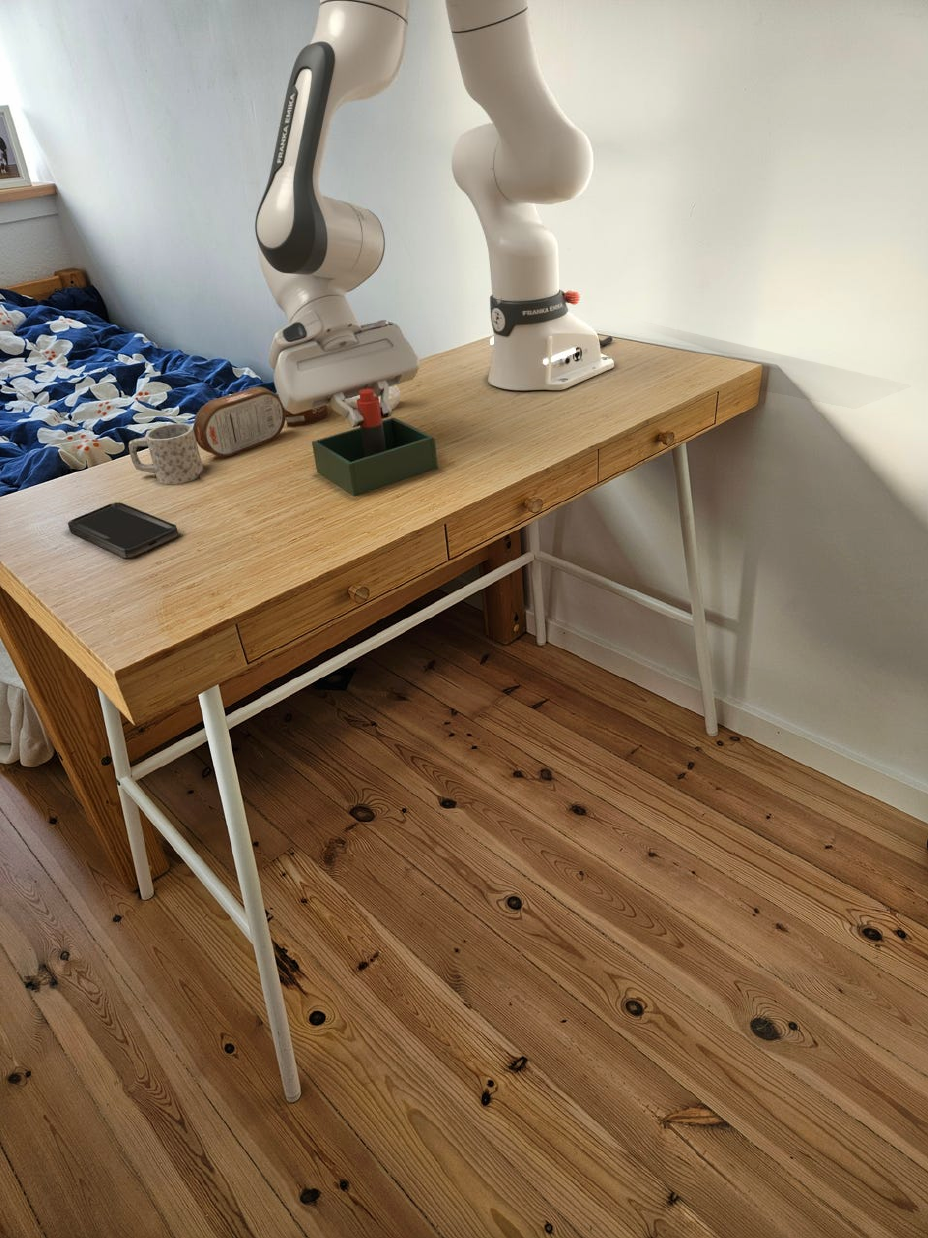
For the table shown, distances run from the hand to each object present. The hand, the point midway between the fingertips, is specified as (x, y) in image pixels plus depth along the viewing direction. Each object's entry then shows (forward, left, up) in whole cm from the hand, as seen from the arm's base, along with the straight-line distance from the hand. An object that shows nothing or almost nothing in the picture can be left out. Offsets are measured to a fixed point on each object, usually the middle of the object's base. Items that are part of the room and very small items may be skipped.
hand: (372, 420), depth 121 cm
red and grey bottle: (0, -1, -7) cm, 7 cm away
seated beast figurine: (-13, -24, -8) cm, 28 cm away
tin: (+10, -24, -8) cm, 27 cm away
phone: (+34, -7, -8) cm, 36 cm away
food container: (-4, -29, -8) cm, 30 cm away
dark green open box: (0, -1, -8) cm, 8 cm away
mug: (+23, -22, -8) cm, 33 cm away
